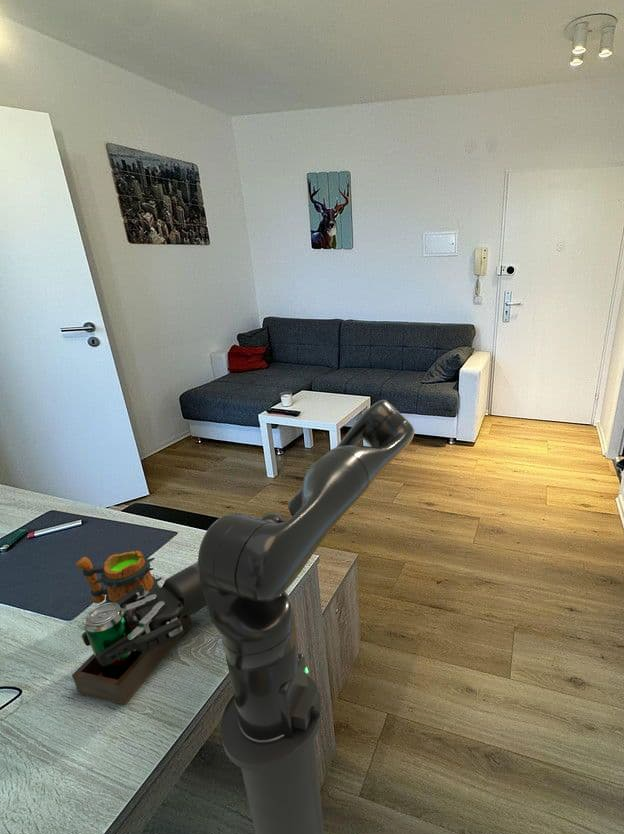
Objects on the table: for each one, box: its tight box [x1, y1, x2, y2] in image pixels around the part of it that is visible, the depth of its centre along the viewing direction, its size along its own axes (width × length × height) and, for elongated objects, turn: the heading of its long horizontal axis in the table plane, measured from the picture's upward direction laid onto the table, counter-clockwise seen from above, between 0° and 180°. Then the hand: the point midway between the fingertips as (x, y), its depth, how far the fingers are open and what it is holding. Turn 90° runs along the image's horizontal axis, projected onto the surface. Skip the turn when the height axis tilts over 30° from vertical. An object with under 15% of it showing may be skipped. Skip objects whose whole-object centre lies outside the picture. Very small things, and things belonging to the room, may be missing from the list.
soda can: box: [83, 603, 139, 680], centre depth 66 cm, size 5×5×12 cm
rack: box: [71, 613, 193, 706], centre depth 71 cm, size 8×15×4 cm, turn 169°
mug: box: [75, 549, 163, 617], centre depth 78 cm, size 13×10×12 cm
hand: (92, 650), depth 64 cm, fingers closed on soda can, 5 cm apart
